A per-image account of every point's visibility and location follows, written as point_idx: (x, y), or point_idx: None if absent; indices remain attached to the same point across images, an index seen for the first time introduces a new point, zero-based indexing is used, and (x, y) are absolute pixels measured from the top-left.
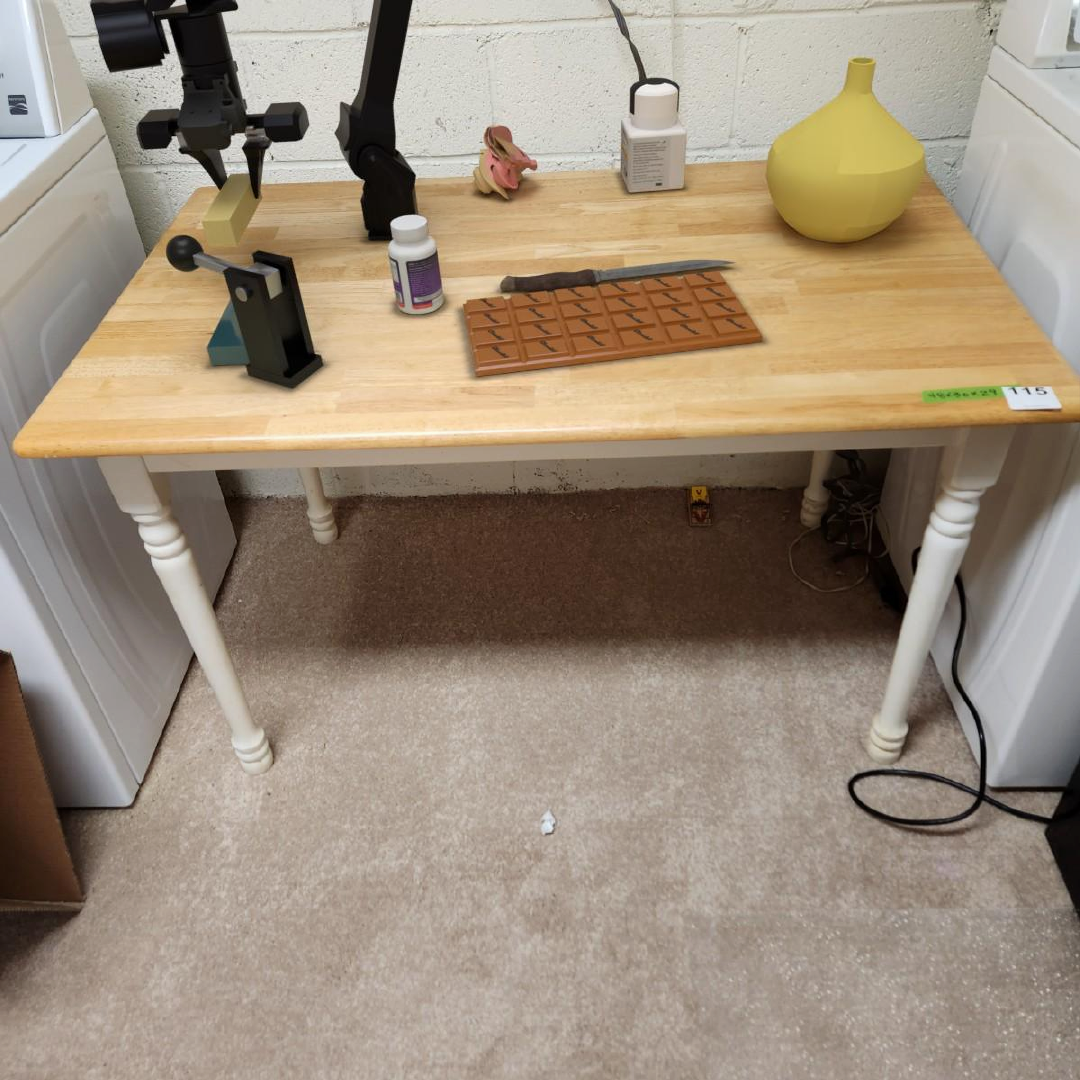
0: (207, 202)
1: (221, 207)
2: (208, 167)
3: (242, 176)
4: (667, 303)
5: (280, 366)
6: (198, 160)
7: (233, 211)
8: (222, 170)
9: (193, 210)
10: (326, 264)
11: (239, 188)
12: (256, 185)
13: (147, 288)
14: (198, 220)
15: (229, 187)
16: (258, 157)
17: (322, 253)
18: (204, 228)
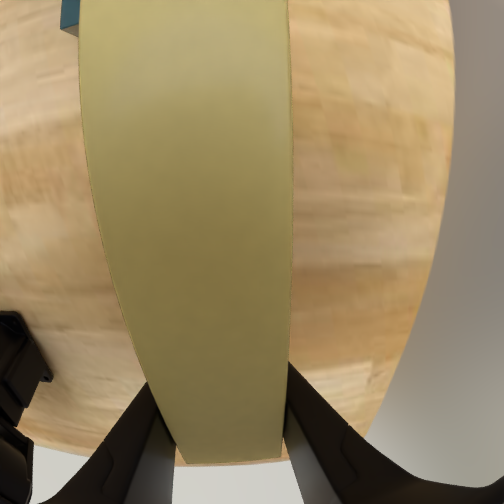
0: (358, 422)
1: (190, 75)
2: (357, 461)
3: (225, 449)
4: None
5: None
6: (411, 480)
7: (80, 19)
8: (297, 463)
9: (377, 404)
10: (43, 216)
11: (183, 371)
12: (136, 402)
13: (434, 119)
14: (370, 384)
15: (245, 382)
16: (53, 499)
17: (72, 269)
18: None
